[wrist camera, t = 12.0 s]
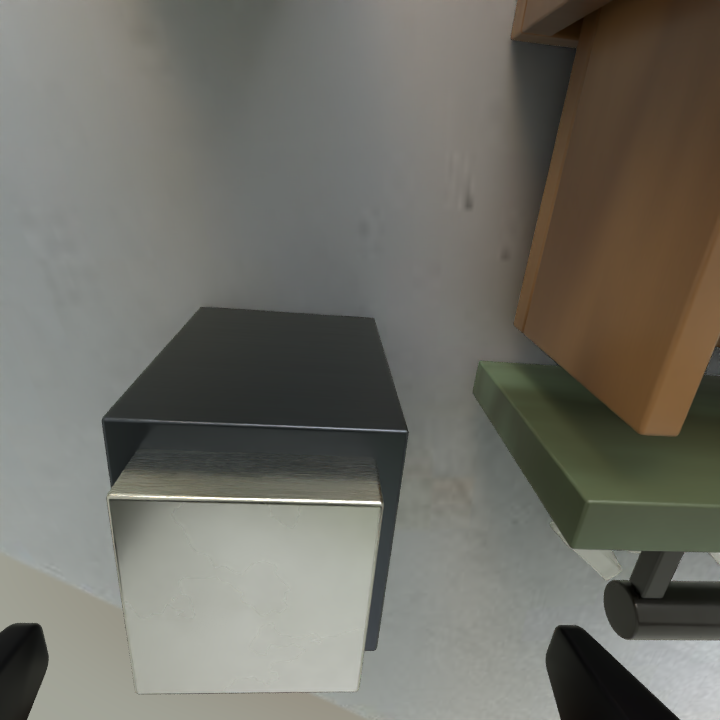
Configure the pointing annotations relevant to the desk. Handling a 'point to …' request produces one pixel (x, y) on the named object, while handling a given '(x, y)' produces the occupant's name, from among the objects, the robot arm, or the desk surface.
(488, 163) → the desk surface
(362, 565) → the card box
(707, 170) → the drawer
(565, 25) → the cabinet
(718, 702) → the desk surface
